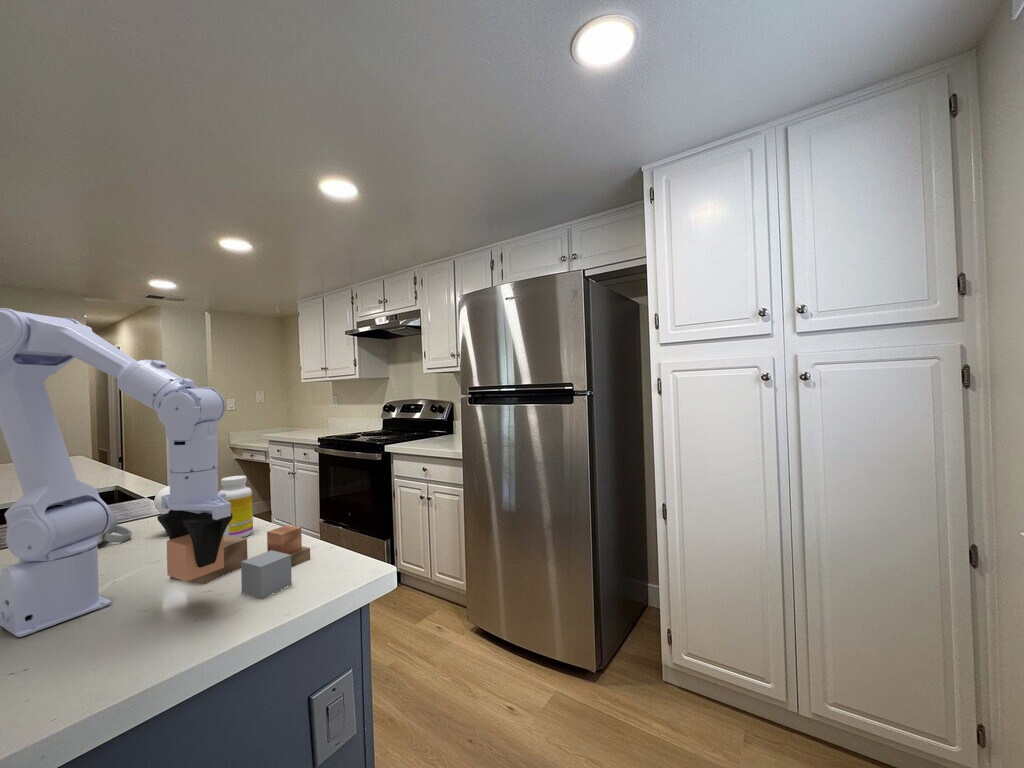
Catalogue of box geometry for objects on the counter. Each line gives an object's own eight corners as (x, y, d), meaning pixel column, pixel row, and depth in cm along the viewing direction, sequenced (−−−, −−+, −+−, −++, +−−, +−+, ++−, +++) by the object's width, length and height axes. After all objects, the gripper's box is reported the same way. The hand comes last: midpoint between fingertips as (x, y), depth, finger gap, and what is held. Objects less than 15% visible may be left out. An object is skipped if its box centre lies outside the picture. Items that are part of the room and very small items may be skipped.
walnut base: (203, 585, 70) (202, 555, 70) (170, 580, 72) (169, 550, 72) (247, 565, 77) (246, 538, 77) (216, 561, 80) (215, 534, 80)
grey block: (261, 599, 64) (260, 566, 64) (241, 593, 66) (241, 561, 66) (291, 585, 69) (290, 554, 69) (272, 579, 71) (271, 550, 71)
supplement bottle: (260, 530, 96) (258, 474, 96) (238, 541, 89) (237, 480, 90) (232, 530, 97) (231, 474, 97) (209, 541, 90) (208, 481, 90)
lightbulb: (160, 532, 97) (159, 484, 97) (194, 527, 100) (192, 481, 100) (150, 541, 91) (149, 490, 91) (186, 535, 94) (185, 486, 94)
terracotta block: (186, 581, 59) (185, 545, 59) (167, 575, 61) (166, 540, 61) (224, 567, 63) (223, 534, 63) (205, 561, 66) (204, 529, 66)
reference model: (280, 571, 74) (279, 537, 74) (259, 565, 77) (258, 532, 77) (310, 558, 79) (309, 526, 79) (289, 553, 82) (288, 522, 82)
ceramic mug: (56, 556, 84) (56, 517, 84) (70, 544, 91) (70, 508, 91) (127, 545, 90) (127, 509, 90) (135, 534, 96) (135, 500, 96)
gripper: (251, 467, 63) (253, 559, 63) (197, 461, 69) (198, 544, 69) (198, 477, 56) (200, 579, 56) (144, 469, 63) (146, 561, 63)
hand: (196, 561), depth 62 cm, fingers closed on terracotta block, 5 cm apart
